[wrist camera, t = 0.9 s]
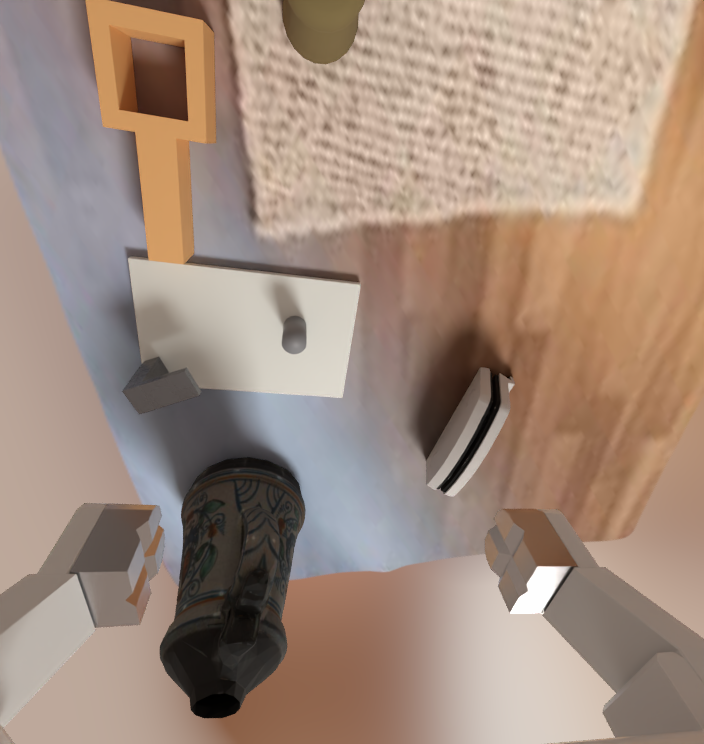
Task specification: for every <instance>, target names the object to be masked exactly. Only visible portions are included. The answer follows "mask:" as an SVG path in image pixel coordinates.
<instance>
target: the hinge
mask: <svg viewBox="0 0 704 744" xmlns="http://www.w3.org/2000/svg"><path fill="white" fill-rule="evenodd" d="M514 384H515V382H514V379H513V378H512V377H511V376H510V377H509V379H508V378H507V377H505V376H504V375H502V374H501V373H499V375H496V374H495V376H494V378H493V379H492V373H491V372H490V369H489V368H484V367H480V369H479V370H478V372H477V374H476V375H475V377H474V379H473V381H472V382H471V384H470V386H469V388H468V389H467V391H466V393H465V394H464V396H463V398H462V400H461V401H460V403H459V405H458V407H457V408H456V410H455V412H454V413H453V415H452V417H451V419H450V420H449V422H448V424H447V426H446V427H445V429H444V431H443V432H442V434H441V436H440V438H439V439H438V441H437V443H436V445H435V446H434V448H433V450H432V451H431V453H430V455H429V457H428V458H427V460H426V484H427V485H428V486H429V487H431V488H432V489H434V490H436V489H440V488H441V491H443V494H445V495H449V496H455V495H456V494H457V493H458V492H459V491H460V490H461V489H462V488H463V486H464V485H465V484H466V483H467V482H468V480H469V479H470V478H471V477H472V475H473V474H474V473H475V471H476V470H477V468H478V467H479V465H480V464H481V462H482V461H483V459H484V458H485V456H486V455H487V453H488V451H489V450H490V448H491V446H492V444H493V443H494V441H495V439H496V437H497V436H498V434H499V432H500V430H501V428H502V426H503V424H504V422H505V420H506V418H507V416H508V414H509V411H510V398H509V392H510V390H511V389H512V387H513V385H514Z"/></svg>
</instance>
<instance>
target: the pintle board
mask: <svg viewBox="0 0 704 744" xmlns="http://www.w3.org/2000/svg"><path fill="white" fill-rule="evenodd" d="M128 262H129V270H130V278H131V285H132V293H133V301H134V308H135V316H136V324H137V331H138V339H139V347H140V354H141V362H142V363H143V362H144V361H146V360H149V359H152V358H156V357H160V359H161V360H162V362H163V363H164V365H165V367H166V368H167V370H168V371H169V373H171V372H174V371H177V370H180V369H183V368H186V367H187V368H188V370H189V372H190V373H191V375H192V377H193V378H194V380H195V382H196V383H197V385H198V387H199V388H204V389H219V390H234V391H249V392H264V393H278V394H293V395H308V396H323V397H338V398H342V397H343V391H344V384H345V378H346V372H347V366H348V360H349V354H350V348H351V341H352V335H353V329H354V323H355V317H356V311H357V305H358V298H359V292H360V286H361V284H360V282H352V281H343V280H334V279H325V278H317V277H308V276H299V275H291V274H282V273H273V272H265V271H256V270H247V269H239V268H230V267H221V266H213V265H204V264H195V263H187V262H186V263H185V264H176V263H167V262H158V261H149V259H148V258H143V257H135V256H130V257H129V258H128Z"/></svg>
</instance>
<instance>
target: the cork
mask: <svg viewBox="0 0 704 744" xmlns="http://www.w3.org/2000/svg"><path fill="white" fill-rule="evenodd" d="M364 2H365V0H283V23H284V26H285V30H286V34H287V37H288V38H289V40H290V42H291V44H292V45H293V47H294V49H295V50H296V51H297V52H298V53H299V54H300V55H301V56H302V57H303V58H305V59H307V60H309V61H311V62H313V63H319V64H328V63H331V62H334V61H337V60H338V59H339V58H341V57H342V56H343V55H344V54H346V53H347V51H348V50H349V48H350V46H351V45H352V43H353V42H354V39H355V35H356V32H357V29H358V13H359V12H360V10H361V8H362V7H363V5H364Z"/></svg>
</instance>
